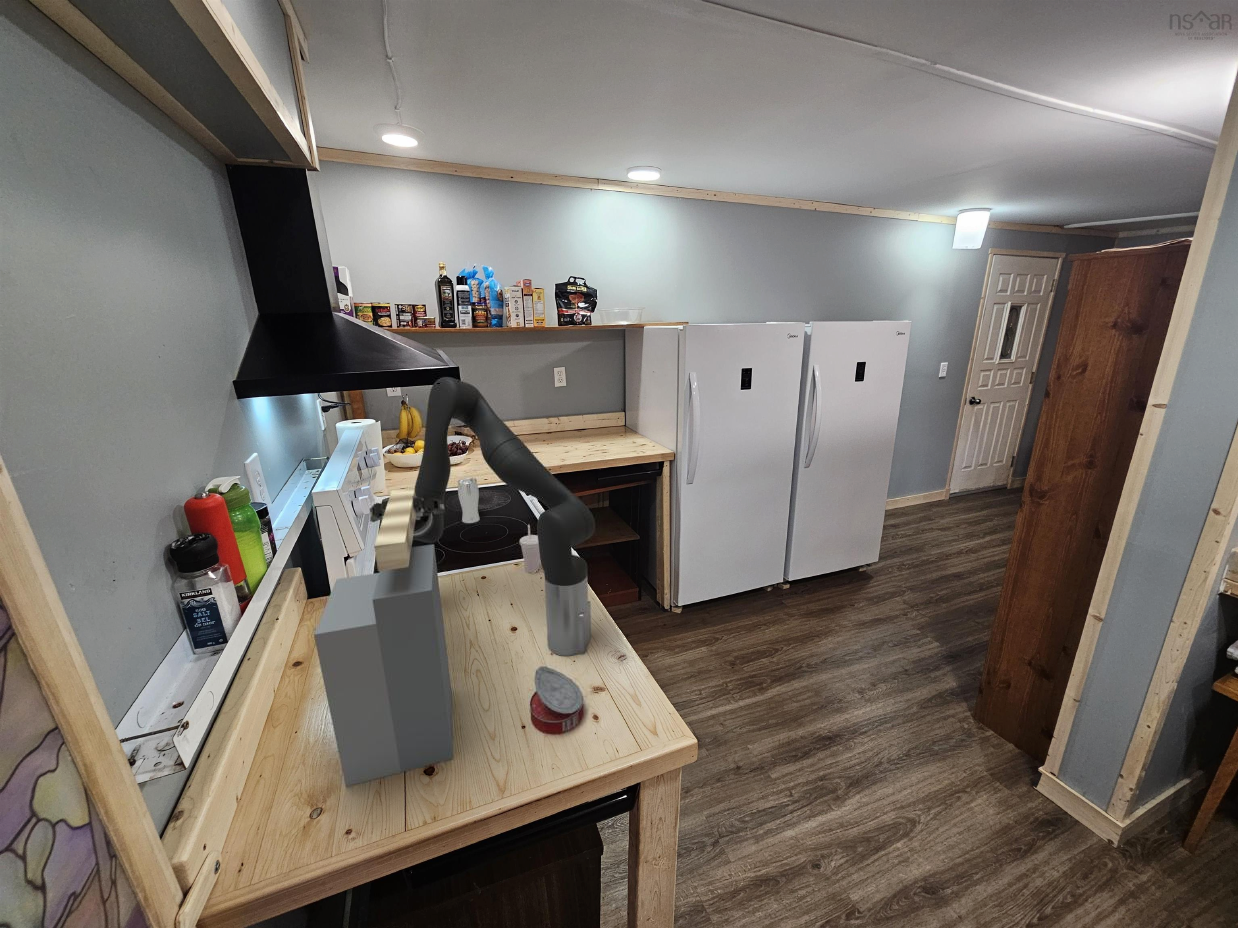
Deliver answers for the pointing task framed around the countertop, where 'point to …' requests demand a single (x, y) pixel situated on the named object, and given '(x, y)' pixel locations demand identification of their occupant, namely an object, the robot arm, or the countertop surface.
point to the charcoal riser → (387, 670)
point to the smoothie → (530, 551)
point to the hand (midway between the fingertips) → (401, 503)
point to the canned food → (555, 702)
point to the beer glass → (469, 499)
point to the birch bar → (396, 531)
